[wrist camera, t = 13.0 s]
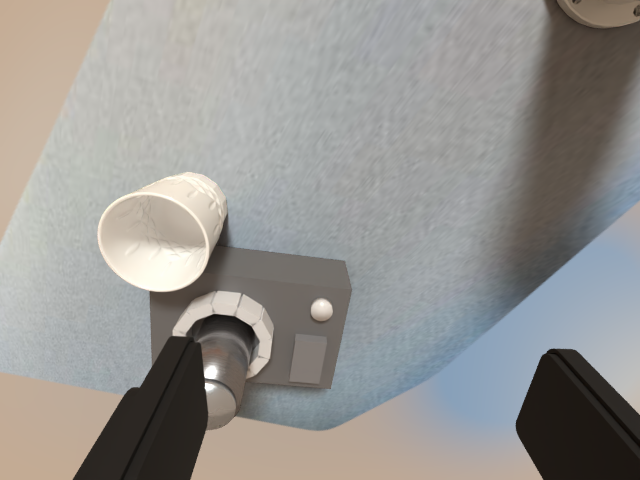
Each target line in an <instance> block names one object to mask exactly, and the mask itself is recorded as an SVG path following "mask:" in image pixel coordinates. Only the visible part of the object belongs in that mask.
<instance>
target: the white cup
mask: <svg viewBox="0 0 640 480" xmlns="http://www.w3.org/2000/svg"><path fill="white" fill-rule="evenodd" d="M227 213H228V212H227V204H226V197H225V196H224V194H223V193H222V191H221V189H220V188H219V186H218V185H217V184H216V183H215V182H213V181H212V180H210V179H209V178H207V177H206V176H204V175H201V174H196V173H191V172H185V173H181V174H177V175H173V176H170V177H167V178H164V179H162V180H159V181H157V182H154V183H152V184H149V185H147V186H145V187H143V188H141V189H139V190H136V191H134V192H132V193H130V194H128V195H126V196H123V197H121V198H119V199H118V200H116V201H114V202H113V203H112V204H111V205H110V206H109V207H108V208H107V209H106V210H105V212H104V213H103V215H102V217H101V219H100V222H99V226H98V244H99V248H100V251H101V253H102V256H103V257H104V259H105V261H106V263H107V264H108V265H109V267H110V268H111V269H112V270H113V271H114V272H115V273H116V274H117V275H118V276H119V277H121V278H122V279H123V280H125V281H126V282H128V283H130V284H132V285H134V286H136V287H138V288H141V289H144V290H148V291H154V292H170V291H175V290H179V289H182V288H184V287H186V286H188V285H190V284H191V283H193V282H194V281H195V280H196V279H198V278H199V276H200V275H201V274H202V273H203V271H204V269H205V267H206V265H207V263H208V261H209V258H210V256H211V254H212V252H213V250H214V248H215V245H216V243H217V241H218V239H219V236H220V233H221V231H222V228H223V223H224V221H225V218H226V215H227Z"/></svg>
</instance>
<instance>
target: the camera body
mask: <svg viewBox="0 0 640 480" xmlns="http://www.w3.org/2000/svg"><path fill="white" fill-rule="evenodd" d="M351 292H352V288H351V284H350V280H349V276H348V272H347V268H346V263H345V261H341V260H332V259H324V258H316V257H308V256H299V255H291V254H283V253H274V252H266V251H258V250H250V249H241V248H233V247H225V246H216V245H215V248H214V250H213V252H212V254H211V256H210V258H209V261H208V263H207V265H206V267H205V269H204V271H203V273H202V274H201V275H200V276H199V278H198V279H196V280H195V281H194V282H193V283H191V284H190V285H188V286H186V287H184V288H182V289H179V290H175V291H170V292H154V291H150V317H151V349H152V366H153V364H154V362H155V361H156V359H157V357H158V355H159V354H160V352H161V350H162V349H163V347H164V345H165V343H166V342H167V340H168V338H169V337H170V336H190V337H193V338H194V340H195V339H196V337H197V334H198V332H199V330H200V327H201V325H202V323H203V321H204V319H205V317H207V316H209V315H212V314H221V315H231V316H236V317H237V318H239V319H241V320H242V321H244V322H246V323H247V324H249V325H251V326H252V328H253V330H254V332H255V336H254V341H253V346H252V351H251V356H250V361H249V366H248V371H247V376H246V381H245V382H254V383H266V384H278V385H290V386H302V387H314V388H326V389H331V385H332V380H333V376H334V371H335V366H336V362H337V357H338V352H339V348H340V343H341V338H342V334H343V329H344V324H345V320H346V315H347V310H348V306H349V301H350V296H351Z"/></svg>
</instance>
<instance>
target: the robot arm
mask: <svg viewBox="0 0 640 480" xmlns="http://www.w3.org/2000/svg"><path fill="white" fill-rule="evenodd" d="M557 2H558V4H559V6H560V7H561V8H562V9H563V10H564V11H565V13H566V14H567V15H568V16H569V17H571V18H572V19H574V20H575V21H577V22H578V23H580V24H583V25H586V26H589V27H592V28H612V27H619V26H623V25H627V24H631V23H635V22H637V21H639V20H640V0H557ZM207 423H208V405H207V396H206V386H205V377H204V367H203V358H202V348H201V343H199V342H195V340H194V338H193V337H190V336H170V337H169V338H168V340H167V342H166V343H165V345H164V347H163V349H162V350H161V352H160V354H159V355H158V357H157V359H156V361H155V362H154V364H153V366H152V368H151V369H150V371H149V373H148V375H147V376H146V378H145V380H144V381H143V383H142V385H141V387H140V388H138V387H134V388H131V389H129V390H128V391H127V392H126V394H125V395H124V397H123V398H122V400H121V401H120V403H119V405H118V406H117V408H116V410H115V411H114V413H113V414H112V416H111V418H110V420H109V421H108V423H107V424H106V426H105V428H104V429H103V431H102V432H101V435H100V436H99V437H98V439H97V441H96V442H95V444H94V445H93V447H92V449H91V451H90V452H89V454H88V455H87V457H86V459H85V460H84V462H83V464H82V465H81V467H80V468H79V470H78V472H77V473H76V475H75V477H74V478H73V480H190V479H191V475H192V472H193V469H194V466H195V463H196V459H197V456H198V453H199V450H200V447H201V444H202V441H203V438H204V434H205V431H206V428H207ZM516 431H517V434H518V436H519V438H520V440H521V442H522V443H523V445H524V447H525V449H526V450H527V452H528V454H529V456H530V457H531V459H532V461H533V463H534V464H535V466H536V468H537V469H538V471H539V473H540V475H541V476H542V478H543V480H640V415H639V414H638V413H637V412H636V411H635V410H634V409H633V408H632V407H631V406H630V405H629V403H628V402H627V401H626V400H625V399H624V398H623V397H622V396H621V395H620V394H619V393H617V391H616V390H615V389H614V388H613V387H612V386H611V385H610V384H609V383H608V382H607V381H606V380H605V379H604V378H603V377H602V376H601V375H600V374H599V373H598V372H597V371H596V370H595V369H594V368H593V367H592V366H591V365H590V364H589V363H588V362H587V361H586V360H585V359H584V358H583V357H582V355H581V354H579V353H578V352H577V351H576V350H573V349H550V350H548V351H547V353H546V354H544V355H542V357H541V359H540V361H539V364H538V366H537V369H536V372H535V374H534V377H533V380H532V382H531V384H530V387H529V390H528V392H527V395H526V397H525V400H524V402H523V405H522V408H521V410H520V413H519V415H518V418H517V420H516Z"/></svg>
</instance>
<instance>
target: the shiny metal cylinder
mask: <svg viewBox="0 0 640 480" xmlns="http://www.w3.org/2000/svg"><path fill="white" fill-rule="evenodd" d="M254 336H255V332H254V330H253V328H252V326H251V325H249V324H247V323H246V322H244V321H242V320H241V319H239V318H237V317H236V316H231V315H221V314H212V315H209V316H207V317H205V319H204V321H203V323H202V325H201V327H200V330H199V332H198V334H197V337H196V339H195V342H199V343H201V348H202V358H203V367H204V377H205V386H206V396H207V405H208V423H207V428H206V430H213V429H218V428H220V427H223V426H225V425H226V424H228V423H229V422H230V421H231V420H232V418H234V417H235V416H236V414H237V413H238V411H239V409H240V406H241V401H242V396H243V391H244V386H245V381H246V376H247V371H248V366H249V361H250V356H251V351H252V346H253V341H254Z"/></svg>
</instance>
